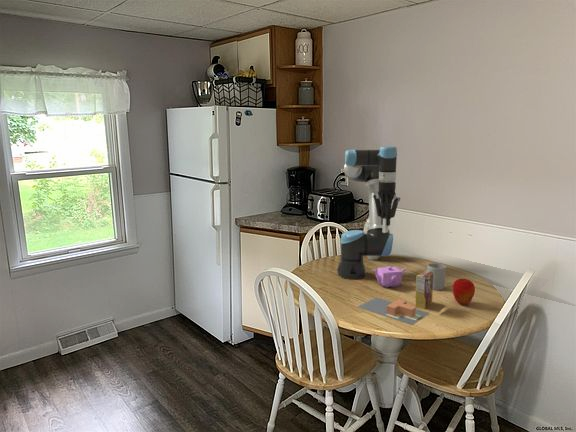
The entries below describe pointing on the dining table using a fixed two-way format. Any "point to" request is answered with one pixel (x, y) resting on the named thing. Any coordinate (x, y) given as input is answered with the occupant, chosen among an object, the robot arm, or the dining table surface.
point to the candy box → (424, 289)
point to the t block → (401, 308)
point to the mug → (437, 275)
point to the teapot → (389, 276)
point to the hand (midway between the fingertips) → (385, 232)
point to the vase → (366, 227)
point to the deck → (381, 308)
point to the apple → (463, 291)
